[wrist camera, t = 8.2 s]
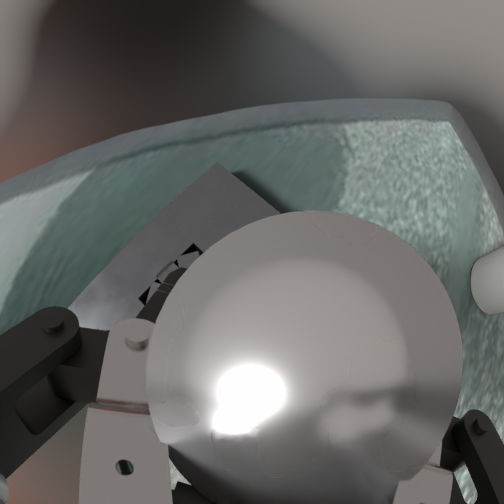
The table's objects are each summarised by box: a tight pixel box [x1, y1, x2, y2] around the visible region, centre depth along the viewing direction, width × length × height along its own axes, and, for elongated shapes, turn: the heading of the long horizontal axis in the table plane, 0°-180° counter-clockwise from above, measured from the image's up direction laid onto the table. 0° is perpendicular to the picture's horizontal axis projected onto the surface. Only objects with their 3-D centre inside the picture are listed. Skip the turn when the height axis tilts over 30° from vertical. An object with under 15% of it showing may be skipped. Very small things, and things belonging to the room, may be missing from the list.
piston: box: [146, 210, 463, 504], centre depth 9 cm, size 5×5×10 cm
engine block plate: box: [68, 163, 281, 330], centre depth 27 cm, size 22×18×3 cm
